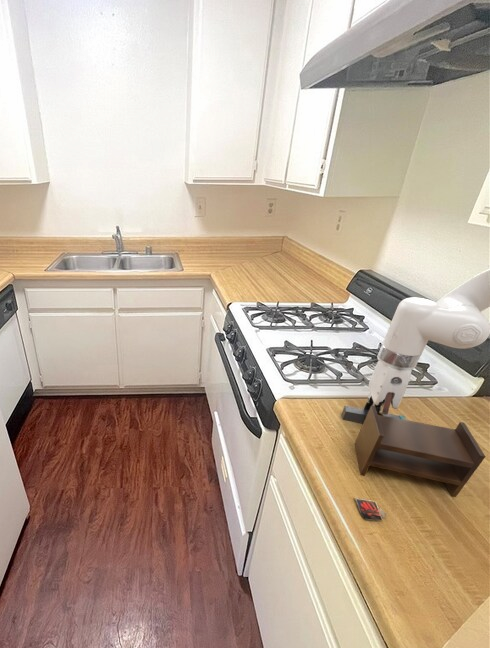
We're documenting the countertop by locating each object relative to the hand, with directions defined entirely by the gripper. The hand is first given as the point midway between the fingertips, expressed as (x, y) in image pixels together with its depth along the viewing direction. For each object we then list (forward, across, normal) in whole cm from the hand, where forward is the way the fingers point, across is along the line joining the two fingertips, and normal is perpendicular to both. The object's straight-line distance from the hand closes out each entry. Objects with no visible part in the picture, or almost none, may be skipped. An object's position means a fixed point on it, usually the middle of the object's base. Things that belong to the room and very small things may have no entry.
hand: (369, 420), depth 86 cm
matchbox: (+1, -29, +4) cm, 29 cm away
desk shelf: (0, -15, -4) cm, 16 cm away
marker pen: (0, 0, 0) cm, 0 cm away
